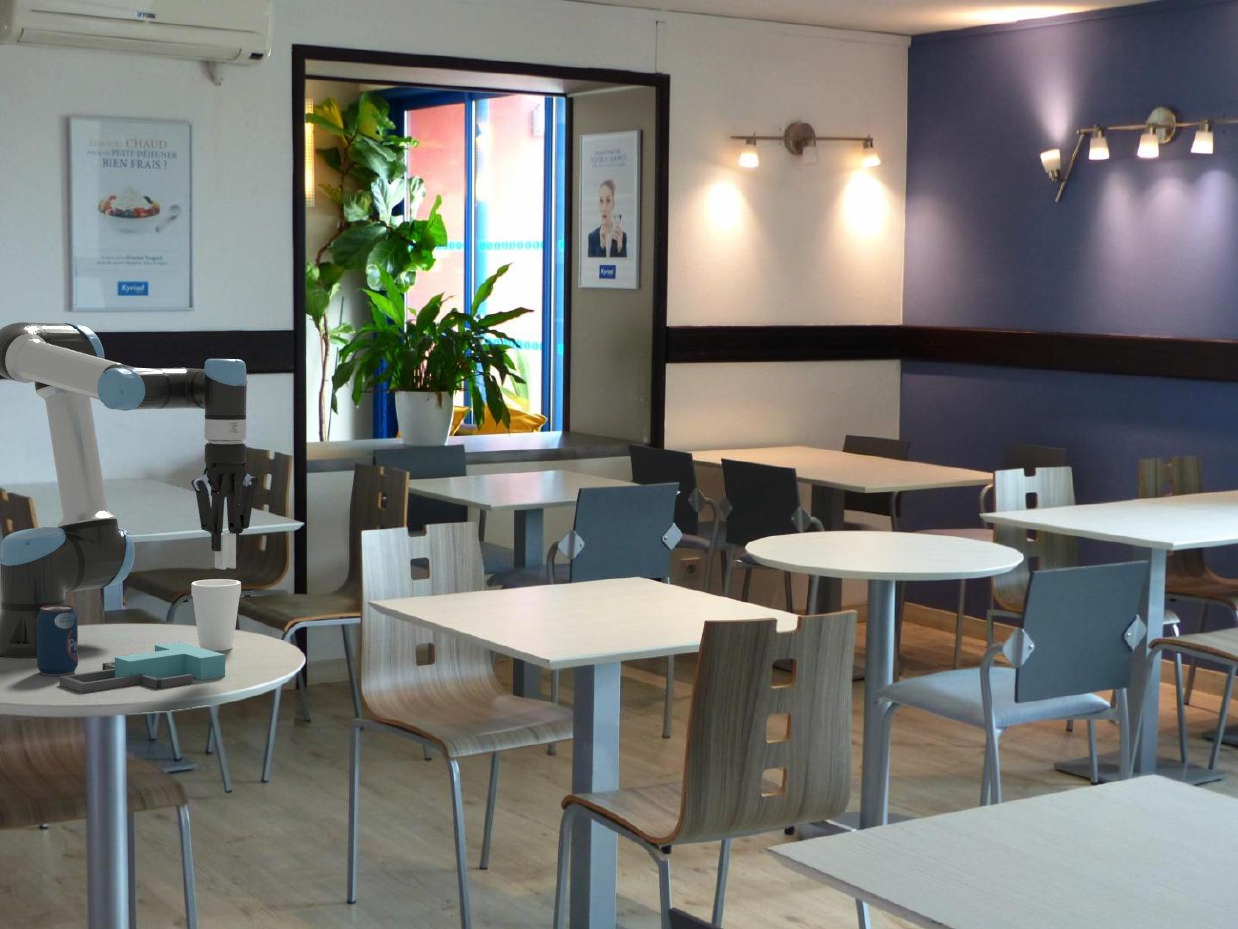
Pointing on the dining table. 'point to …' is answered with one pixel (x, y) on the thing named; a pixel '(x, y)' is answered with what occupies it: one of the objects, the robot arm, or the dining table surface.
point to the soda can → (57, 640)
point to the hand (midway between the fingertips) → (225, 567)
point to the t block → (173, 662)
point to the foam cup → (216, 612)
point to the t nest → (117, 680)
